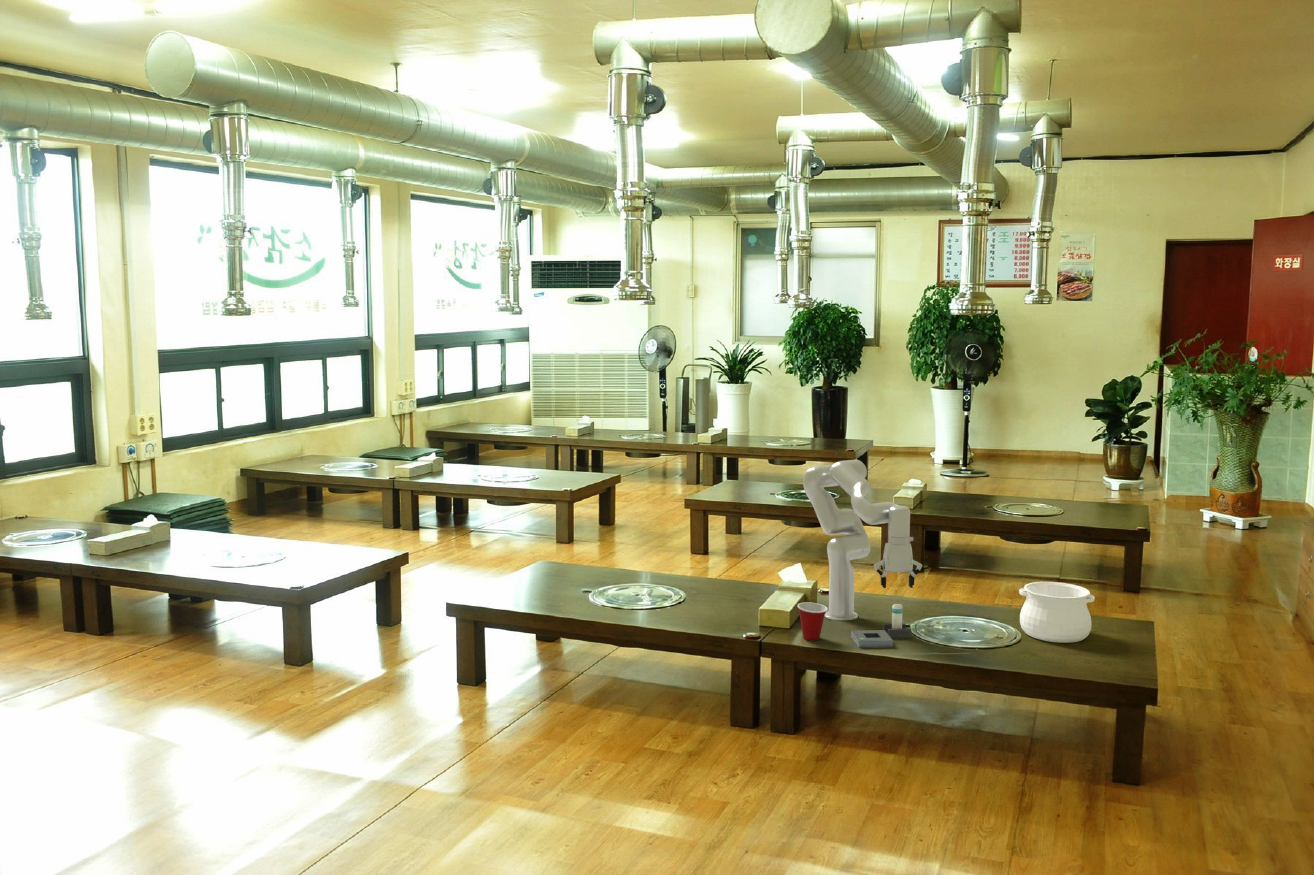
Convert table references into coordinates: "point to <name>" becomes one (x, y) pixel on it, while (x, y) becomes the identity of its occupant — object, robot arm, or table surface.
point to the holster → (897, 631)
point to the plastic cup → (811, 619)
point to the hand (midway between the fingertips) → (897, 587)
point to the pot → (1056, 612)
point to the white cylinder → (897, 616)
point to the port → (871, 638)
